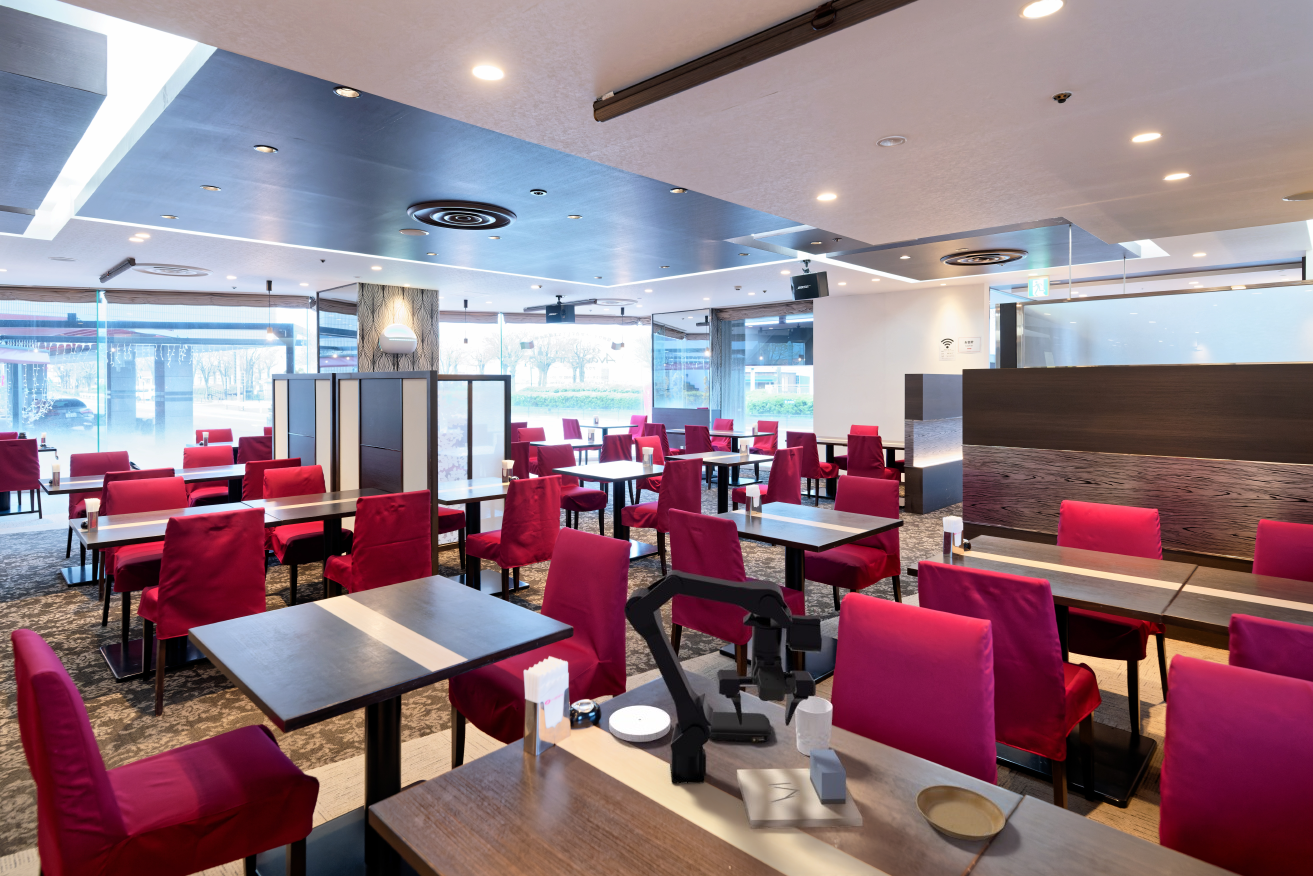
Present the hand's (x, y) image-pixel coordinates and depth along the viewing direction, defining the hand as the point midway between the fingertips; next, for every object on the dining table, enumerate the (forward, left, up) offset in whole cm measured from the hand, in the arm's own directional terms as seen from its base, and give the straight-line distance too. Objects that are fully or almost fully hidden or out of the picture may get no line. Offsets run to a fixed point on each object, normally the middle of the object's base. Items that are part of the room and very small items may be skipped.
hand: (763, 724), depth 134 cm
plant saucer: (+33, -13, -12) cm, 38 cm away
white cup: (+13, +12, -12) cm, 21 cm away
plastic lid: (-24, +21, -12) cm, 35 cm away
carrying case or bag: (-2, +19, -12) cm, 23 cm away
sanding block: (+11, -6, -10) cm, 16 cm away
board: (+5, -6, -12) cm, 14 cm away
